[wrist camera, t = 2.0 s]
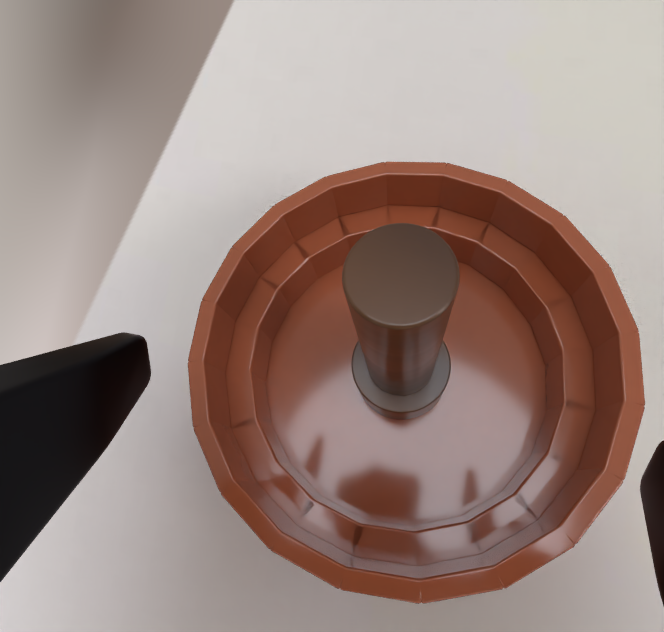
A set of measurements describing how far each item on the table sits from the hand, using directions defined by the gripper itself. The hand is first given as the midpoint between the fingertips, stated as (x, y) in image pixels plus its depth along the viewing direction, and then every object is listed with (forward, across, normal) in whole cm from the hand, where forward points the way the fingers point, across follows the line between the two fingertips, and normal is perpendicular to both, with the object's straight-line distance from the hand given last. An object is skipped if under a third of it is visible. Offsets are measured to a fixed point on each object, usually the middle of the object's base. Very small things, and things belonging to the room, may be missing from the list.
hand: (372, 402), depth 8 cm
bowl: (+10, 0, +6) cm, 12 cm away
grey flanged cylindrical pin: (+9, 0, +6) cm, 11 cm away
